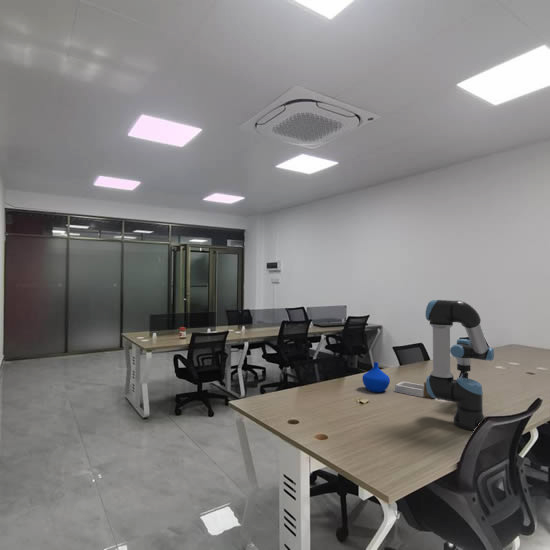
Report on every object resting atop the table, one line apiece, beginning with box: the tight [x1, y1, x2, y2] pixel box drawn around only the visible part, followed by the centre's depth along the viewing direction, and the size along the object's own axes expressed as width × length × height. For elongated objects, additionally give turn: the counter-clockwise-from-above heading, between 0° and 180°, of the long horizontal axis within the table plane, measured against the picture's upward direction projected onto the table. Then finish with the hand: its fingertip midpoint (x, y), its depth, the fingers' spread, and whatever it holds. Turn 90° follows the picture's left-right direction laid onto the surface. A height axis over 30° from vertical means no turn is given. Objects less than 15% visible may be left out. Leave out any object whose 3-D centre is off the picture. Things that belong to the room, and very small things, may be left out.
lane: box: [394, 381, 425, 398], centre depth 244 cm, size 19×13×4 cm
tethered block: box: [423, 381, 437, 400], centre depth 229 cm, size 25×7×10 cm, turn 53°
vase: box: [362, 361, 391, 393], centre depth 248 cm, size 18×18×19 cm
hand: (463, 401), depth 223 cm, fingers closed on tethered block, 4 cm apart
